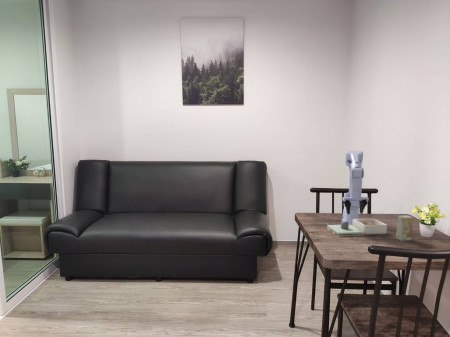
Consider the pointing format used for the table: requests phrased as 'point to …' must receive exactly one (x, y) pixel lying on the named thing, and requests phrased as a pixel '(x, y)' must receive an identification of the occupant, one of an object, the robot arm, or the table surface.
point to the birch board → (344, 234)
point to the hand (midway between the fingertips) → (354, 213)
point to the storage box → (370, 226)
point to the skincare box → (404, 228)
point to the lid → (345, 228)
